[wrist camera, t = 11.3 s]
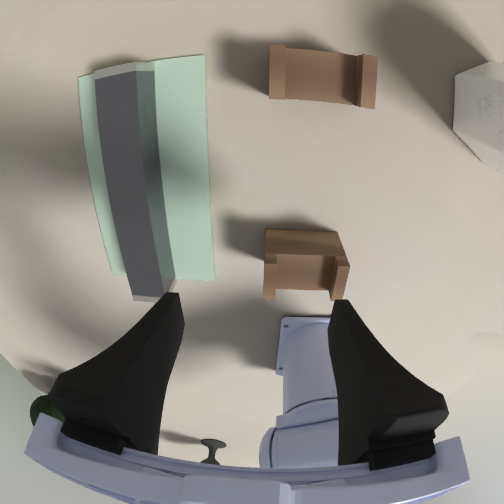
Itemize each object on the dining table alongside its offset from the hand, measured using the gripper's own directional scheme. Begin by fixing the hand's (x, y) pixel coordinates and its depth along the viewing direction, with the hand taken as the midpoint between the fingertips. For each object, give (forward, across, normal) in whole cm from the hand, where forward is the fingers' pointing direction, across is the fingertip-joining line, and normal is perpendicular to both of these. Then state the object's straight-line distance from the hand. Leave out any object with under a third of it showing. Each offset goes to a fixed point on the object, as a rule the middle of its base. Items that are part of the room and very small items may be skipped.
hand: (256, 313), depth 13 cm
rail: (+10, +9, -3) cm, 14 cm away
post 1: (+10, -3, -10) cm, 15 cm away
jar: (+11, -18, -11) cm, 24 cm away
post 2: (+10, -3, +3) cm, 11 cm away
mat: (+10, +9, -3) cm, 14 cm away
